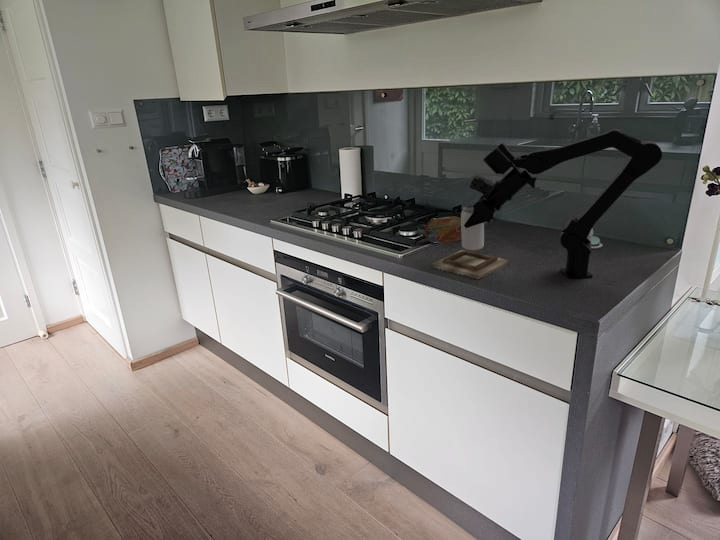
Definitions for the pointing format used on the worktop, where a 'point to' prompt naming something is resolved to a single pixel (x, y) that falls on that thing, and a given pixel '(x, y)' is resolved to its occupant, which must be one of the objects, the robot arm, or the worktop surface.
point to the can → (471, 231)
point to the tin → (443, 229)
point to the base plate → (470, 264)
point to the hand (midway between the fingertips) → (467, 223)
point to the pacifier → (594, 240)
